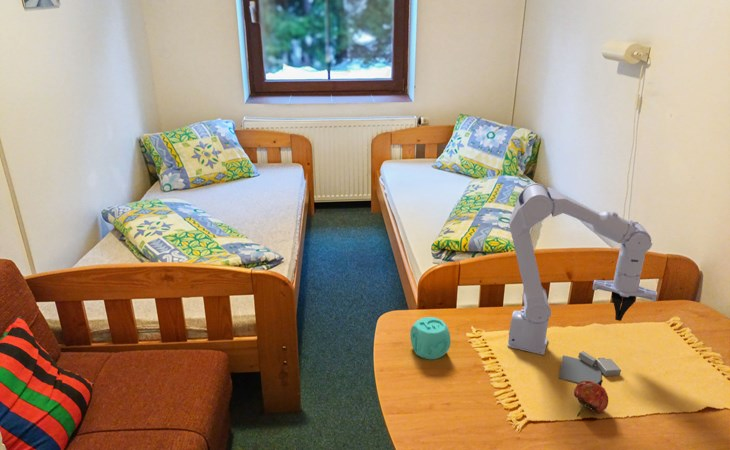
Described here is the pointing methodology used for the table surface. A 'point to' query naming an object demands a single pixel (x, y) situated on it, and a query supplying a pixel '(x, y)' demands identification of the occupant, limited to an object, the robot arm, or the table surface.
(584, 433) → the table surface
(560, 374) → the mat
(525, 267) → the robot arm
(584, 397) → the pomegranate
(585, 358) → the lighter
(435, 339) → the decorative dice
